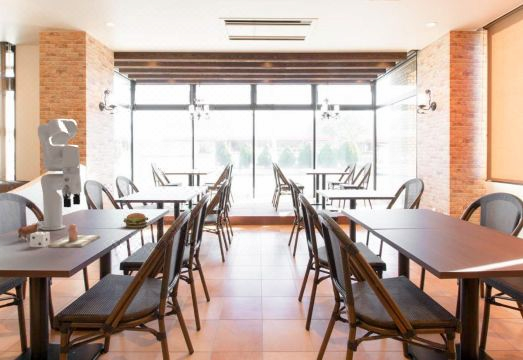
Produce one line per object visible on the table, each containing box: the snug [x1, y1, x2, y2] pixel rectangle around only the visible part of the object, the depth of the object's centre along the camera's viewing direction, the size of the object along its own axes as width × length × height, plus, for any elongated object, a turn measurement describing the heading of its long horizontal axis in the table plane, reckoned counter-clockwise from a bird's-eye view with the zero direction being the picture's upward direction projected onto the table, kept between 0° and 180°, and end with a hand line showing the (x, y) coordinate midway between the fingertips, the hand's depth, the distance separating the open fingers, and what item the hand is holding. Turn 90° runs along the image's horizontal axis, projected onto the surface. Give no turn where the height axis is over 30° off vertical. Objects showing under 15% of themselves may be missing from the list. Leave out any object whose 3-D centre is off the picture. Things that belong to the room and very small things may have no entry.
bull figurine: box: [17, 221, 43, 242], centre depth 203 cm, size 4×13×8 cm, turn 161°
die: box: [29, 231, 51, 248], centre depth 190 cm, size 6×6×6 cm
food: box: [122, 212, 149, 229], centre depth 240 cm, size 14×14×8 cm
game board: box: [47, 234, 101, 248], centre depth 198 cm, size 16×21×1 cm
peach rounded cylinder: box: [68, 223, 79, 242], centre depth 196 cm, size 4×4×8 cm
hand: (72, 205), depth 195 cm, fingers open, 9 cm apart
